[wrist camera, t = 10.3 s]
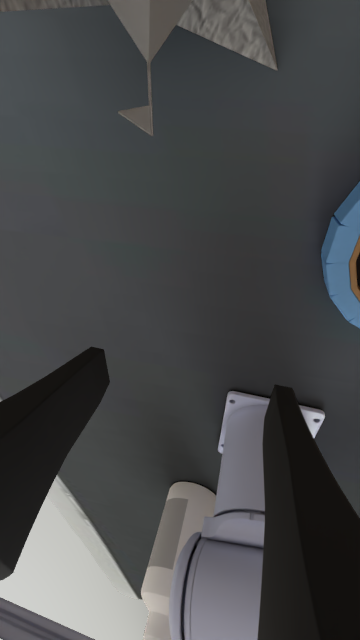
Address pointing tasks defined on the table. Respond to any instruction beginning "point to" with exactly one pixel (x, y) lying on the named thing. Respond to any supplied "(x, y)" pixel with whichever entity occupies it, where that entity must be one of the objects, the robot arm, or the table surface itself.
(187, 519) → the spray bottle
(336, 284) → the tape ring
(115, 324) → the table surface
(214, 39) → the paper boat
